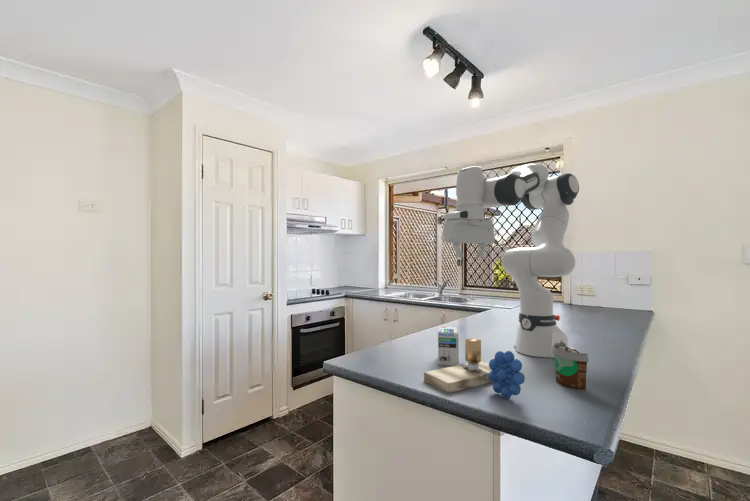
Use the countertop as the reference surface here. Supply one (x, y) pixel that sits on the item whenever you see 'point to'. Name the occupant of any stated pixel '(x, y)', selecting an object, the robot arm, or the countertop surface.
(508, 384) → the grapes
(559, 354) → the food container
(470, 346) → the gold rounded piece
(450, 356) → the light bulb box
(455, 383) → the wooden block with hole
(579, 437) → the countertop surface
